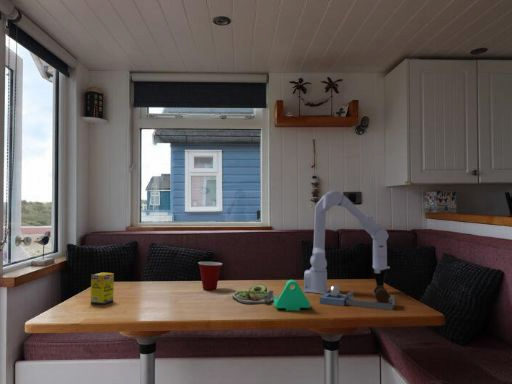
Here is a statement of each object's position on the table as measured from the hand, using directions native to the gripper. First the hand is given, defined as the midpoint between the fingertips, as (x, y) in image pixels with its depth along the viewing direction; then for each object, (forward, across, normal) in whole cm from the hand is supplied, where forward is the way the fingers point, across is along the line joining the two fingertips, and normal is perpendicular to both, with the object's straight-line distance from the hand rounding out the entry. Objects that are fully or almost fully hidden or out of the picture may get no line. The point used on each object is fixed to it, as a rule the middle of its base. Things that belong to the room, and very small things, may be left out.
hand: (380, 287), depth 165 cm
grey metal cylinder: (+2, -25, +13) cm, 28 cm away
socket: (+2, -25, +13) cm, 29 cm away
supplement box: (+2, -65, +92) cm, 113 cm away
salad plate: (+2, -33, +43) cm, 54 cm away
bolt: (+2, -11, -2) cm, 11 cm away
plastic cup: (+2, -27, +68) cm, 73 cm away
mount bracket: (+2, -24, 0) cm, 24 cm away
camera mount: (+2, -40, +25) cm, 47 cm away
